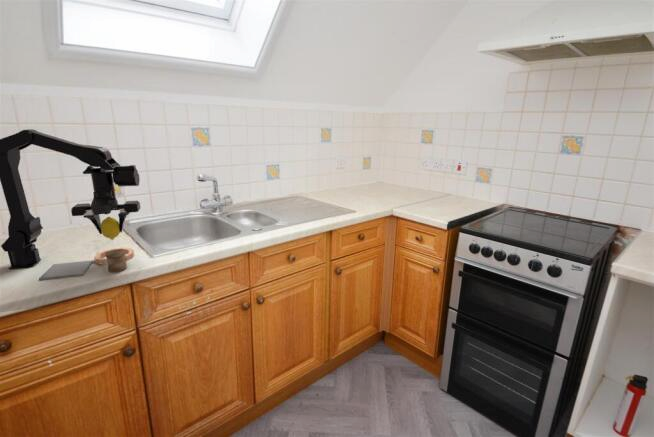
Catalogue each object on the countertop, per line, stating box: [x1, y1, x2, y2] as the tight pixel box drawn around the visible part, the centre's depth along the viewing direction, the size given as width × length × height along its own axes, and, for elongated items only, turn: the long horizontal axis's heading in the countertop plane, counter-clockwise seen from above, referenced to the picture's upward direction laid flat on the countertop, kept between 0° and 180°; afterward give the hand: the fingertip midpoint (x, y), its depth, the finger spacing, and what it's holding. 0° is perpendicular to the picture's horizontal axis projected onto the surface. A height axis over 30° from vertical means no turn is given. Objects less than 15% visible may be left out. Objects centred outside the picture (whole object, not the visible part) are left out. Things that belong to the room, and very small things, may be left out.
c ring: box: [93, 247, 135, 265], centre depth 120 cm, size 11×11×2 cm
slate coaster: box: [38, 259, 94, 281], centre depth 110 cm, size 11×11×1 cm
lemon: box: [101, 216, 121, 240], centre depth 117 cm, size 6×6×8 cm
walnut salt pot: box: [105, 249, 128, 273], centre depth 110 cm, size 5×5×6 cm
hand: (111, 232), depth 118 cm, fingers closed on lemon, 5 cm apart
